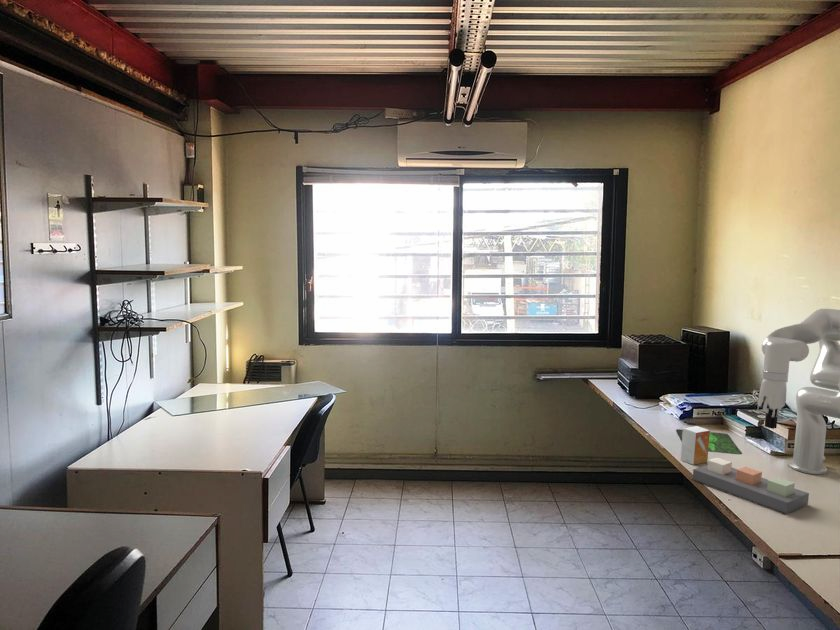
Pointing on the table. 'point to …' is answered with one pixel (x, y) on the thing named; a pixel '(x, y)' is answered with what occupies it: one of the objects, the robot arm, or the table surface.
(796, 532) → the table surface
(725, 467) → the cream key
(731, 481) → the key console
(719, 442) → the mouse mat
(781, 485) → the sage key
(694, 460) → the small box
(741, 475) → the terracotta key
